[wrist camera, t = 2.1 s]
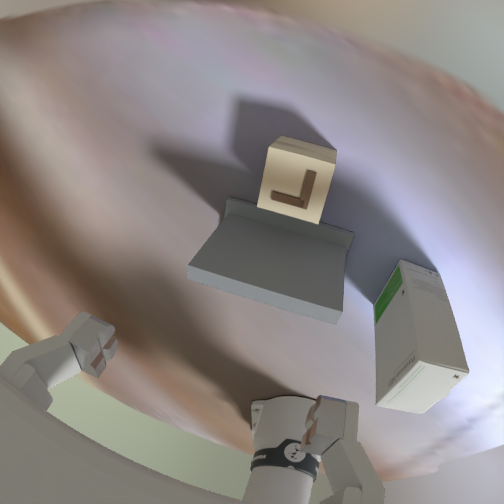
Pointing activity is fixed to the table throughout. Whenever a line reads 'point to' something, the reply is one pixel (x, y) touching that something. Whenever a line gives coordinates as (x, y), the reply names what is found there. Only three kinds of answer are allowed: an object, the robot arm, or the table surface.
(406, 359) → the skincare box
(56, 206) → the table surface
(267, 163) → the letter cube
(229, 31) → the table surface
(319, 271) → the screen
